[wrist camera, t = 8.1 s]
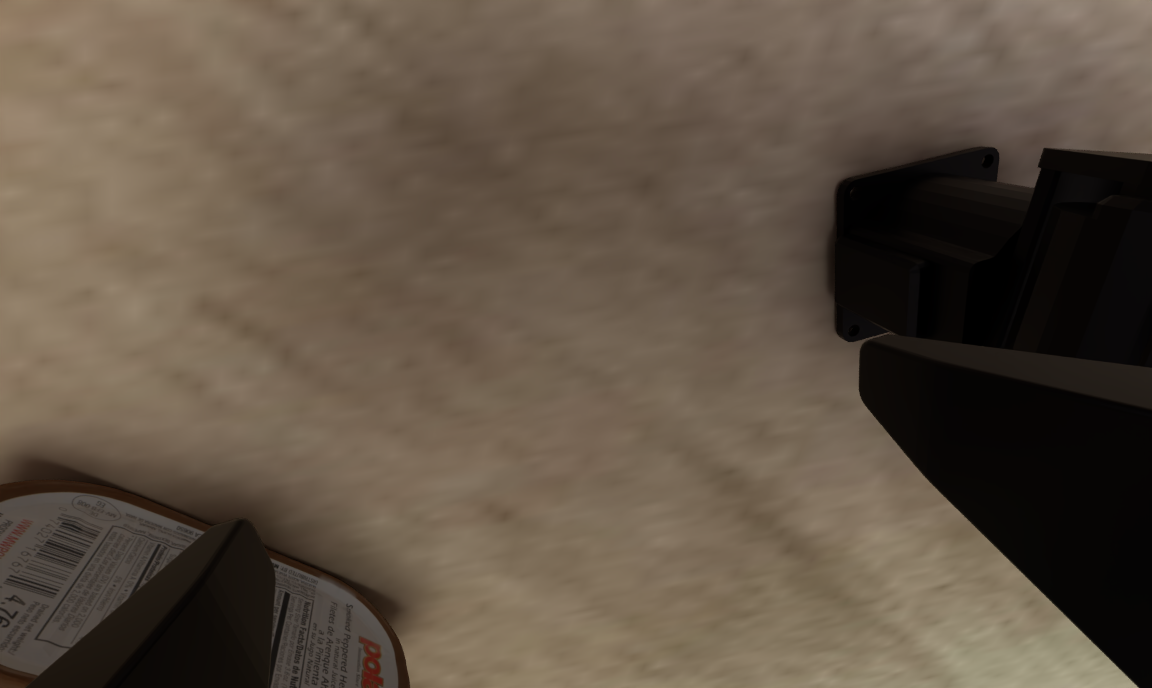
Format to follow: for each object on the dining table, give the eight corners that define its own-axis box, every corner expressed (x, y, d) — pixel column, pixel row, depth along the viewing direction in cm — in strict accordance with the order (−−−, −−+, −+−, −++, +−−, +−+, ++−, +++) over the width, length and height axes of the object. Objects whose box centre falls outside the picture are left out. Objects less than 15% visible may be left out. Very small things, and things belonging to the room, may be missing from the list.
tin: (-33, 497, 20) (-311, 752, 12) (14, 423, 19) (-245, 642, 12) (380, 647, 26) (365, 878, 18) (423, 594, 26) (427, 809, 18)
